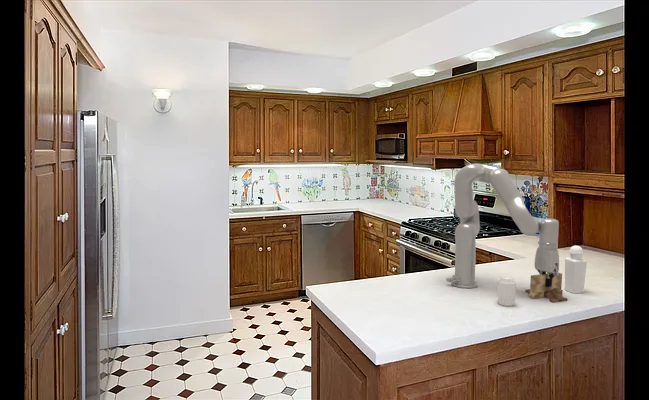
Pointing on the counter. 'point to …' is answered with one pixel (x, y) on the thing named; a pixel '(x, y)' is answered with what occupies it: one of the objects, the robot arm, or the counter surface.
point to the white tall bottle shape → (575, 270)
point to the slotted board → (543, 284)
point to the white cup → (506, 291)
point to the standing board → (553, 295)
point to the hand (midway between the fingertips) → (546, 285)
